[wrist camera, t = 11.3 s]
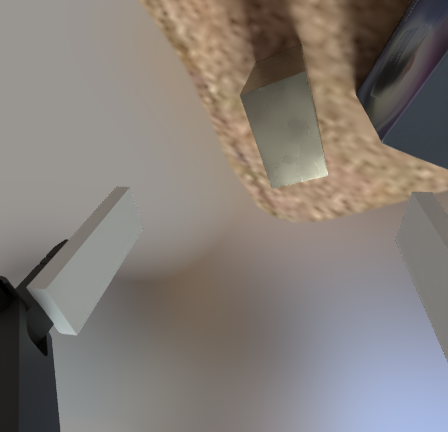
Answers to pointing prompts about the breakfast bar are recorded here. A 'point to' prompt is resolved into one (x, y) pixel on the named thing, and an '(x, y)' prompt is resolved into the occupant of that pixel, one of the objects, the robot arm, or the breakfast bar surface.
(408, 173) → the breakfast bar surface
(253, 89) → the bookend
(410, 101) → the small box
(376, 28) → the breakfast bar surface
